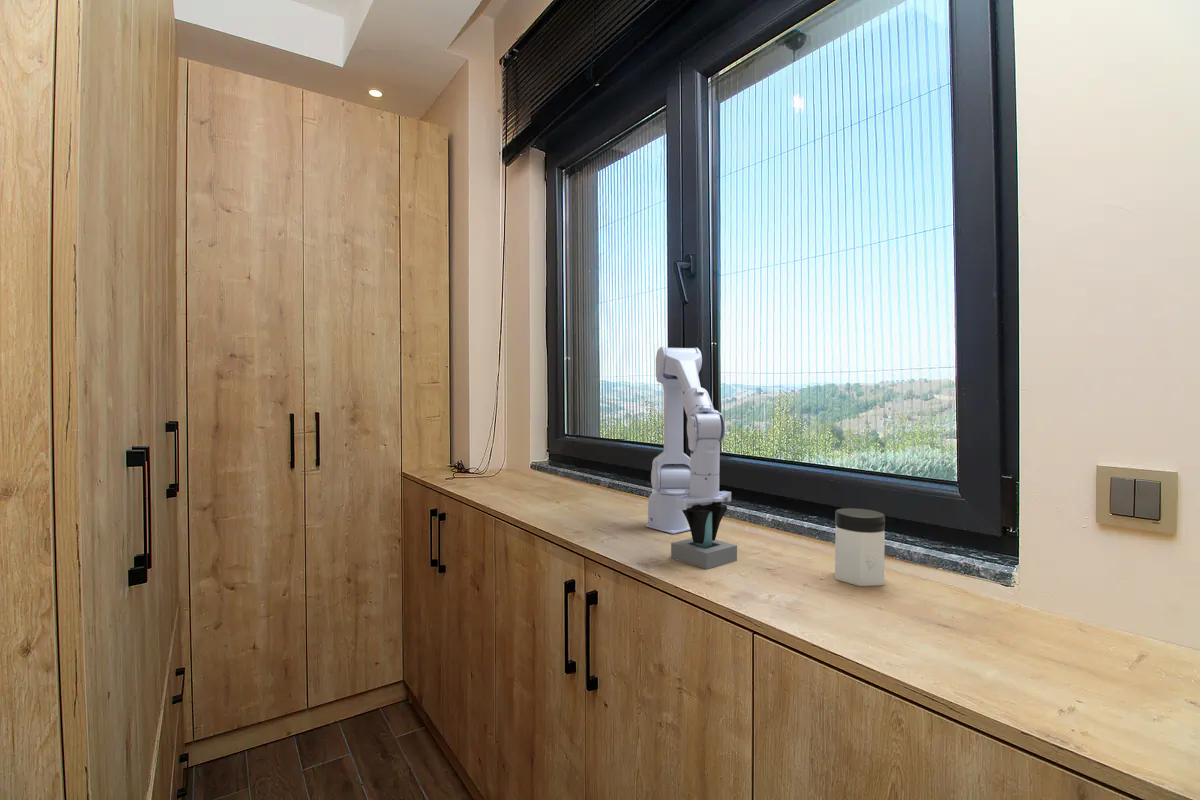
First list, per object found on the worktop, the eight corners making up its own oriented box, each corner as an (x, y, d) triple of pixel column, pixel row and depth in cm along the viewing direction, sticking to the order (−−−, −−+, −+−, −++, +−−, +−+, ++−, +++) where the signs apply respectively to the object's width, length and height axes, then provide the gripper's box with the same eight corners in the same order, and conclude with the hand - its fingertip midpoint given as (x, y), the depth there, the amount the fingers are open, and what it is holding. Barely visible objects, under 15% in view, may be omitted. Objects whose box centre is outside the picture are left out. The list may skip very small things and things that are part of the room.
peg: (692, 551, 113) (692, 511, 113) (703, 548, 115) (703, 509, 115) (704, 554, 111) (704, 513, 111) (715, 551, 113) (715, 511, 113)
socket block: (671, 557, 114) (671, 542, 114) (701, 550, 120) (701, 535, 119) (706, 569, 107) (706, 553, 107) (736, 560, 112) (737, 545, 112)
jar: (848, 587, 97) (849, 518, 97) (823, 572, 105) (824, 508, 105) (896, 585, 98) (897, 517, 98) (868, 571, 106) (869, 507, 106)
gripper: (695, 479, 105) (695, 551, 105) (743, 472, 114) (742, 539, 114) (668, 474, 111) (667, 543, 111) (716, 468, 120) (715, 532, 120)
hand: (704, 541), depth 113 cm, fingers closed on peg, 3 cm apart
